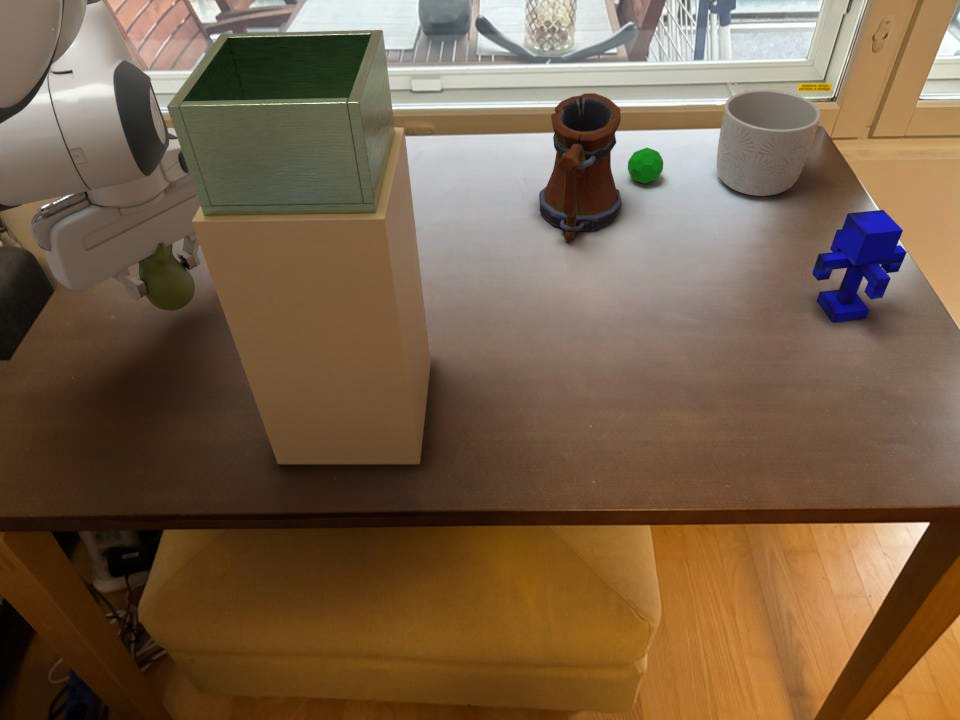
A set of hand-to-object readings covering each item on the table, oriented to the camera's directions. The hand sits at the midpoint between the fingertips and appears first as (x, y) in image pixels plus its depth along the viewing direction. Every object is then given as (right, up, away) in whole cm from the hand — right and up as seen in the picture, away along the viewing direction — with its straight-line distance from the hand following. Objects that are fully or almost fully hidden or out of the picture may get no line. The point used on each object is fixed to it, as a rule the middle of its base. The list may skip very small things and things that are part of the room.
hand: (166, 280), depth 84 cm
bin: (+23, -14, -6) cm, 28 cm away
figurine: (+77, -3, +3) cm, 77 cm away
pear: (0, -3, +3) cm, 4 cm away
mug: (+48, +10, +18) cm, 52 cm away
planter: (+75, +17, +24) cm, 80 cm away
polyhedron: (+59, +17, +25) cm, 67 cm away
